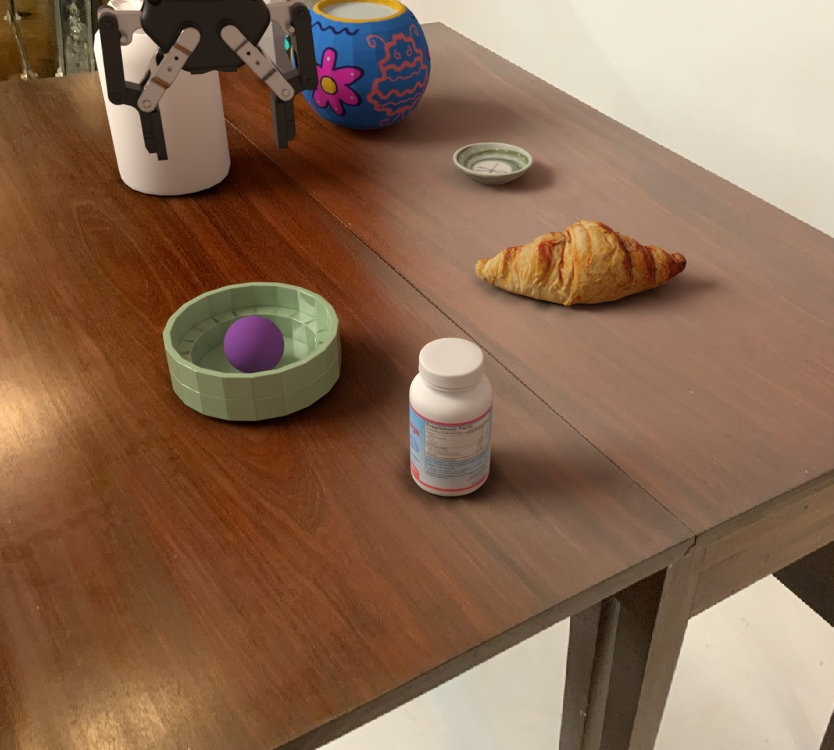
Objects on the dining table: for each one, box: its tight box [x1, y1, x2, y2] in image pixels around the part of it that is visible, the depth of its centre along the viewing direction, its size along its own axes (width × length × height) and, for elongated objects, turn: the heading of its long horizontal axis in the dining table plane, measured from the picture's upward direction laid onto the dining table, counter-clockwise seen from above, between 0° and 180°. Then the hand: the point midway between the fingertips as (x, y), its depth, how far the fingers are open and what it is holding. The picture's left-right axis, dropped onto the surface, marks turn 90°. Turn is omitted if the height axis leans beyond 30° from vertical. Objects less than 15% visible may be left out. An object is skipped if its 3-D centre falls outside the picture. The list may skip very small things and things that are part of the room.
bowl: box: [162, 281, 343, 422], centre depth 83 cm, size 14×14×5 cm
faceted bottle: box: [258, 0, 293, 73], centre depth 134 cm, size 6×6×22 cm
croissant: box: [474, 219, 687, 307], centre depth 97 cm, size 21×10×8 cm, turn 96°
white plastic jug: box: [93, 0, 231, 196], centre depth 109 cm, size 12×12×20 cm
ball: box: [224, 316, 284, 373], centre depth 82 cm, size 5×5×5 cm
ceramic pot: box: [285, 0, 432, 131], centre depth 125 cm, size 18×18×15 cm
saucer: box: [452, 141, 534, 185], centre depth 117 cm, size 10×10×2 cm
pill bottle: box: [408, 337, 494, 497], centre depth 72 cm, size 6×6×11 cm
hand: (223, 150), depth 71 cm, fingers open, 8 cm apart
